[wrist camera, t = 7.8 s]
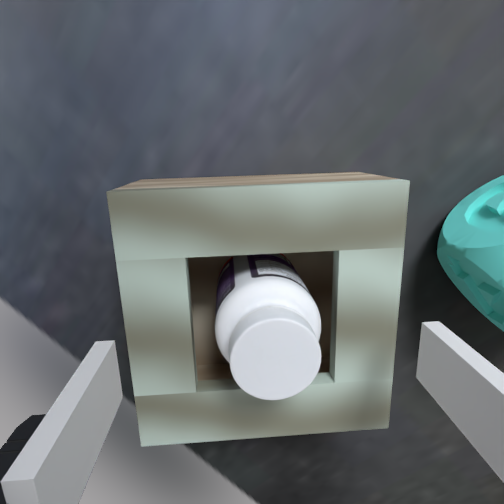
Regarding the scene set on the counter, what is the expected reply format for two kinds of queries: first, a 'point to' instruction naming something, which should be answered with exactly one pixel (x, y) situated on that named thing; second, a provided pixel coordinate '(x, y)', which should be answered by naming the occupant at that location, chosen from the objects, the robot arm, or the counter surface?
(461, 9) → the counter surface
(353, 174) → the grey hollow square block
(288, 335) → the pill bottle
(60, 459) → the robot arm
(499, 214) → the engraved teal number block
